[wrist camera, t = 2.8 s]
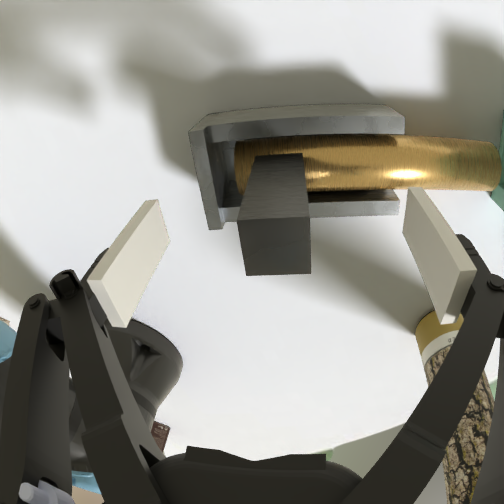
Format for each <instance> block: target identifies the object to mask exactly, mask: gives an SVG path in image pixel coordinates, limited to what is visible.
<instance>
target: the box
mask: <svg viewBox="0 0 504 504" xmlns="http://www.w3.org/2000/svg"><path fill="white" fill-rule="evenodd" d="M169 430H170V427H168V426H166V425H163V424H160V423H157V422H153V426H152V429H151V434H152V436H153V438H154V440H155V442H156V444H157V446H158V447H159V449H160V450H161V451H162V453H163V450H164V447H165V444H166V440H167V437H168V434H169Z"/></svg>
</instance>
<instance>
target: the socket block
mask: <svg viewBox="0 0 504 504" xmlns="http://www.w3.org/2000/svg"><path fill="white" fill-rule="evenodd" d="M499 155H500V158H501V165H502V173H501V179H500V182H499V184H498V186H497V188H496V189H495V190H493V191H492V195H491V199H492V200H493V201H494V202H495V203H496V204H497V205H498V206H499V207H500V208H501V209H502V210H503V211H504V112H503V124H502V133H501V142H500V149H499Z"/></svg>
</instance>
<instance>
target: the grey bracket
mask: <svg viewBox="0 0 504 504" xmlns="http://www.w3.org/2000/svg"><path fill="white" fill-rule="evenodd" d="M188 134H189V139H190V144H191V149H192V154H193V159H194V163H195V168H196V173H197V178H198V182H199V187H200V192H201V196H202V201H203V205H204V210H205V214H206V219H207V223H208V228H209V230H219V229H223V226H224V223H225V222H237V217H238V214H239V210H240V207H241V203H242V200H243V196H244V195H240V193H239V191H238V187H237V183H236V177H235V168H234V148H235V143H236V141H240V140H251V139H263V138H276V137H292V136H312V135H355V134H368V135H389V134H405V117H404V116H402V115H401V114H399V113H398V112H396V111H395V110H393V109H392V108H390V107H389V106H387V105H380V104H318V105H296V106H280V107H267V108H256V109H246V110H237V111H228V112H221V113H213V114H208V115H207V116H206V117H204V118H203V119H202V120H201V121H200V122H199V123H198V124H196V125H195V126H194V127H193V128H192V129H191V130H190V131H189V132H188ZM307 195H308V205H309V215H310V218H318V217H345V216H378V215H398V212H399V203H400V200H399V199H398V197H397V195H396V194H395V192H394V191H393V189H383V190H336V191H310V192H307Z"/></svg>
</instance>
